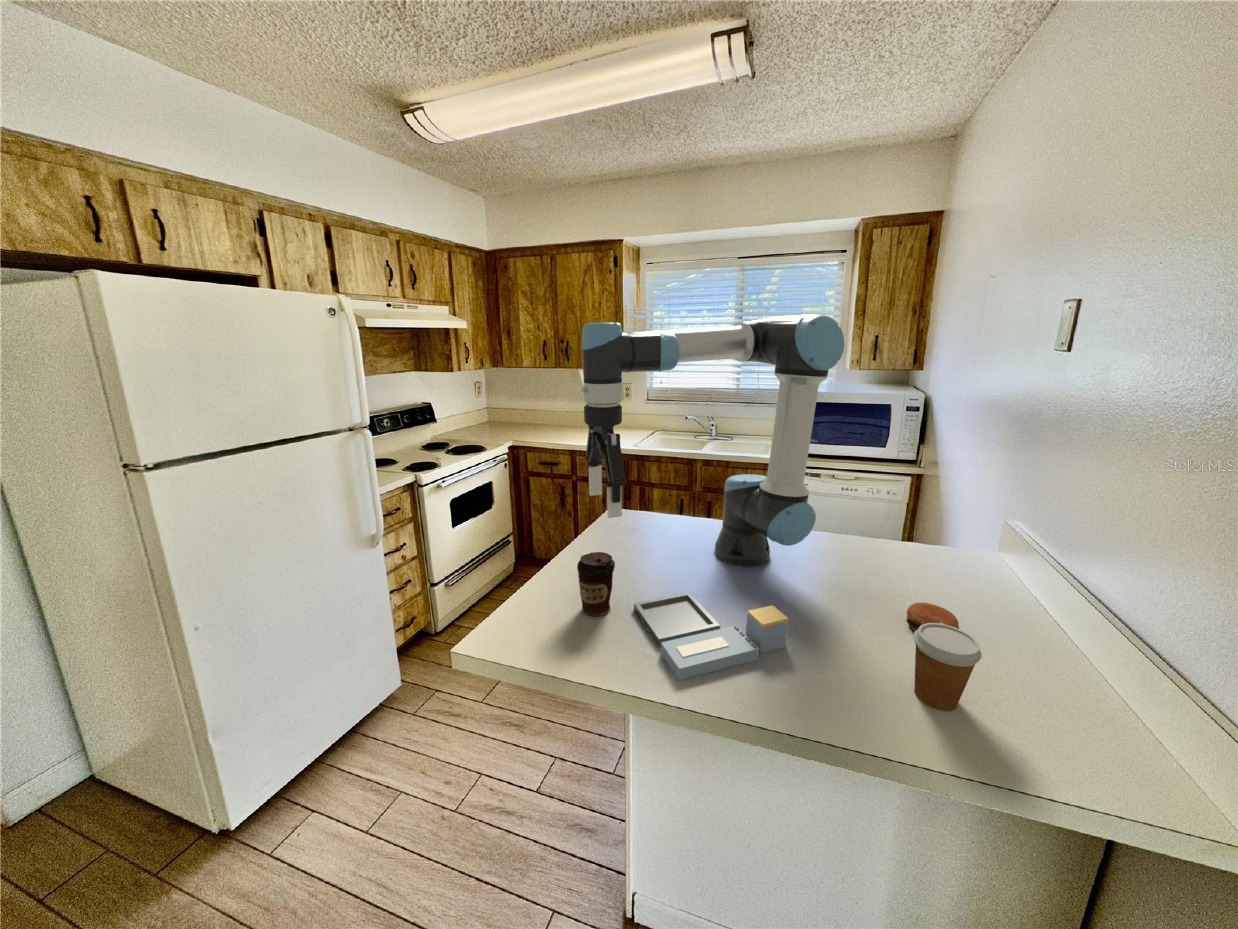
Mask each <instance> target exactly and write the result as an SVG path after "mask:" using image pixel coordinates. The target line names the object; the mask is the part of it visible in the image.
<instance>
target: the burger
mask: <svg viewBox="0 0 1238 929" xmlns="http://www.w3.org/2000/svg"><path fill="white" fill-rule="evenodd" d="M906 623H907V624H908V625H909V626H910V628H911V629H912V630H913V631H914V632H915V631H916V630H918V628H919V627H920V626H921V625H923V624H926V623H940V624H945V625H949V626H952V627H955V628H957V629H960V626H959V620H958V618H957V616H956V615H955V614H954V613H952V612H951V611H950V610H948V609H946V608H944V607H941V606H939V605H936V604H933V603H929V602H914V603H912V604H910V605H909V606H908V608H907V611H906Z"/></svg>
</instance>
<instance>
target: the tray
mask: <svg viewBox="0 0 1238 929" xmlns="http://www.w3.org/2000/svg"><path fill="white" fill-rule="evenodd" d="M633 611H634V613H635V614H636V615H637V617H638V618H639V620H640V622H642V624H643V626H644V627H645V629H646V630H647V632H648V633H649V634H650V636H651V638H652V639H653V640H654V642H655V643H656V645H657V646H658V647H660V648H661V642H666V641H670V640H674V639H679V638H683V637H687V636H692V635H696V634H700V633H705V632H709V631H713V630H718V629H721V624H720V623H719V622H718V621H717V620H716V619H715V618H714V617H713V616H712V614H710V613H709V612H708V610H707V609H705V607H704V606H703V605H702V603H700V602H699V601H698V600H697V599H696V598H695V597H694V596H693V594H692V593H691V592H690V591H687V592H682V593H678V594H673V595H669V596H663V597H658V598H657V597H656V598H652V599H648V600H642V601H638V602H637V601H636V602H634V603H633Z"/></svg>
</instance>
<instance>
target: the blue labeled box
mask: <svg viewBox="0 0 1238 929" xmlns="http://www.w3.org/2000/svg"><path fill="white" fill-rule="evenodd" d="M660 654H661V656H662V657H663V659H664V661H665V662H666V663H667V664H668V666H669V668H670V670H671V671H672V672H673V674H674V675H675V677H676V678H677V680H678V681H681V680H685V679H689V678H692V677H697V676H700V675H705V674H709V673H712V672H716V671H719V670H725V669H727V668H732V667H735V666H740V665H742V664H746V663H750V662H754V661H758V660H759V654H760V653H759V648H758V647H757V646H756V645H755V644H754V643H753V642H752V641H751V640H750V639H749V638H748V637H747V636H746V633H744V632H743V631H742V629H740V627H739V626H737V625H732V626H727V627H722V628H720V629H718V630H713V631H709V632H705V633H700V634H696V635H692V636H687V637H683V638H679V639H674V640H670V641H666V642H661V646H660Z"/></svg>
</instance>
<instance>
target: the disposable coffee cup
mask: <svg viewBox="0 0 1238 929" xmlns="http://www.w3.org/2000/svg"><path fill="white" fill-rule="evenodd" d="M913 640H914V643H915V656H914V659H915V660H914V662H915V663H914V690H913V691H914V694H915V697H917V699H918V700H919V701H920V702H921V703H923V704H924V705H925V706H928V707H930V708H932V709H935V710H938V711H941V712H951V711H955V710H956V709H957V707H958V704H959V702H960V700H961V698H962V696H963V693H964V690H965V688H966V686H967V684H968V682H969V679H970V677H971V675H972V673H973V670H974V669H975V666H976V664H977V663H979V662H980V661H981V659H982V656H983V655H982V652H981V650H980V644H979V642H978V641H977V639H975V638H974V637H973V636H972V635H970V634H969V633H968V632H965V631H963V630H961V629H960V628H959V629H957V628H955V627H952V626H949V625H945V624H940V623H926V624H923V625H921V626H920V627H919V628H918V630H916V631H915V630H914V633H913Z"/></svg>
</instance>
